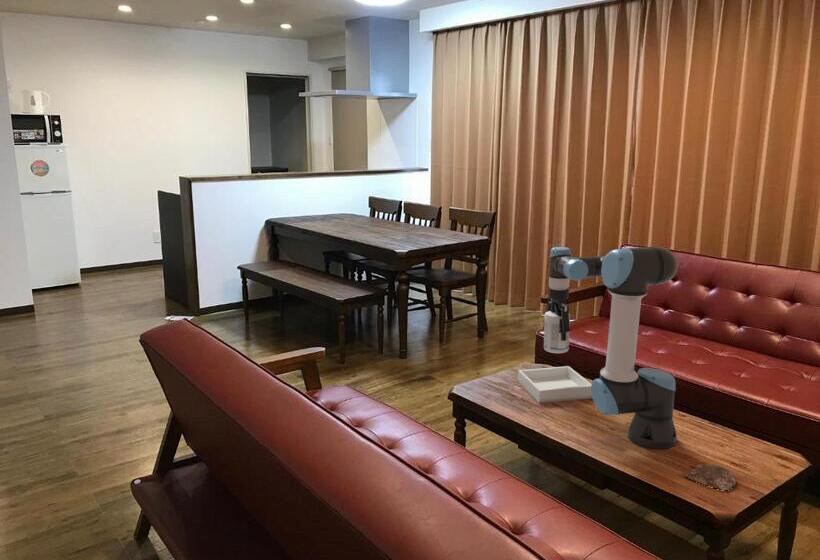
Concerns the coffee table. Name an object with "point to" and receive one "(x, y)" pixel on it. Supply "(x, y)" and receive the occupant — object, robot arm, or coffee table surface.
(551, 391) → the white bin
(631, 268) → the robot arm
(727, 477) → the shell
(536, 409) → the coffee table surface
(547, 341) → the supplement tub
